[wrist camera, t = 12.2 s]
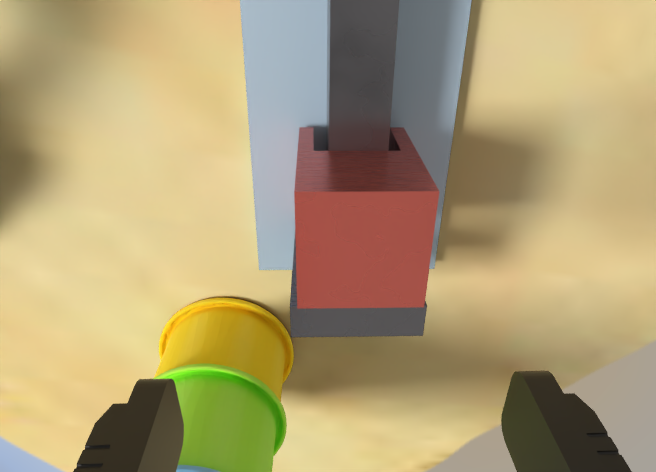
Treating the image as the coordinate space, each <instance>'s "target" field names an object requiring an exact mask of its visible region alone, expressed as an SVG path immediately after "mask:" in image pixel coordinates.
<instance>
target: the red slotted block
mask: <svg viewBox="0 0 656 472" xmlns="http://www.w3.org/2000/svg"><path fill="white" fill-rule="evenodd" d="M438 199H439V190H438V188H437V186H436V184H435V183H434V181H433V179H432V177H431V175H430V174H429V172H428V170H427V168H426V166H425V165H424V163H423V161H422V159H421V157H420V156H419V154H418V152H417V150H416V148H415V147H414V145H413V143H412V141H411V139H410V138H409V136H408V134H407V132H406V131H405V129H404V127H390V136H389V149H388V151H314V143H313V127H299V139H298V151H297V164H296V176H295V189H294V202H295V239H296V277H297V309H304V308H410V307H424V304H425V296H426V289H427V281H428V274H429V266H430V259H431V251H432V244H433V236H434V229H435V221H436V214H437V206H438Z"/></svg>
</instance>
